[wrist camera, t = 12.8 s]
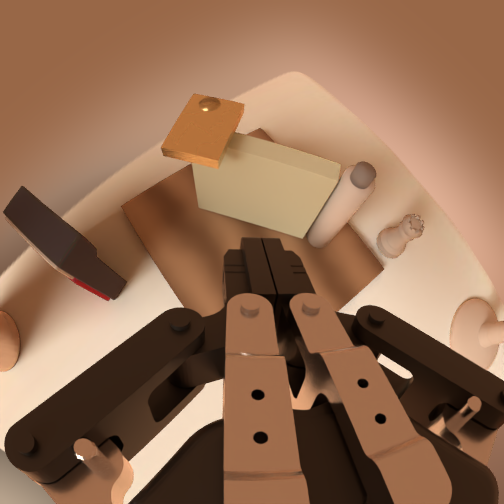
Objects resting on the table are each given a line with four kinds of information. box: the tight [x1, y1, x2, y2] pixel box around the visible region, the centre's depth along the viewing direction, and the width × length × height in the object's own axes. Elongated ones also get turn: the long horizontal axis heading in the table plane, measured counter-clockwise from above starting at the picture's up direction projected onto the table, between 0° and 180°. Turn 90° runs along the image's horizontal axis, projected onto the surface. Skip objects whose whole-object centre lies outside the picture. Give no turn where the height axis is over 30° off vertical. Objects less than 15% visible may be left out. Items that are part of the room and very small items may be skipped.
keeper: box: [161, 94, 244, 169], centre depth 33 cm, size 7×5×18 cm
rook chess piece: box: [377, 214, 424, 259], centre depth 38 cm, size 4×4×8 cm
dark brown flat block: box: [3, 186, 126, 301], centre depth 30 cm, size 11×4×15 cm, turn 59°
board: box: [121, 128, 384, 351], centre depth 39 cm, size 24×28×1 cm
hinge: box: [192, 132, 376, 248], centre depth 32 cm, size 18×3×16 cm, turn 73°
